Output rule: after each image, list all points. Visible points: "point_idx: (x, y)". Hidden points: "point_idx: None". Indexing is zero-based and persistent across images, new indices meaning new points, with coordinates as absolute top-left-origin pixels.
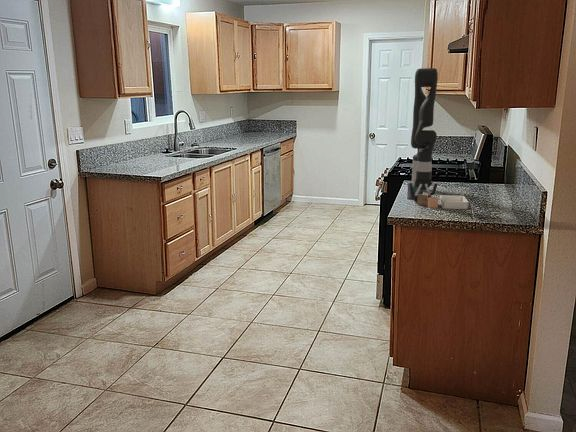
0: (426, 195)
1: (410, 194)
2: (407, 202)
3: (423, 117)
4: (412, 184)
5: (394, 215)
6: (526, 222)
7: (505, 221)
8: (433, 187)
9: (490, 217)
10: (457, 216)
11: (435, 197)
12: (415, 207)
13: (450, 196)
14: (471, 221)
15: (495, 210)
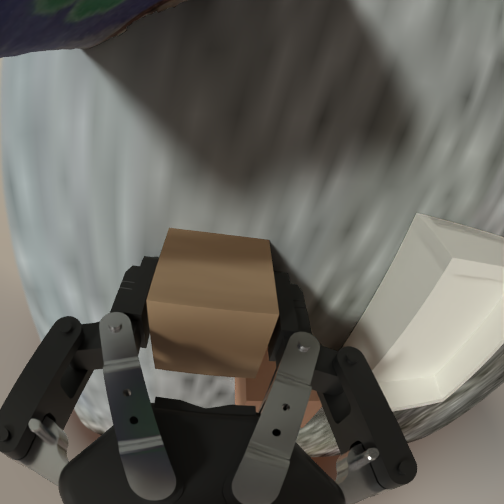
0: (253, 357)
1: (67, 45)
2: (71, 224)
3: None
4: (46, 455)
5: (85, 419)
6: (437, 427)
7: (405, 435)
8: (361, 435)
9: (403, 424)
10: (312, 437)
11: (311, 402)
12: (149, 363)
13: (502, 276)
14: (322, 451)
15: (491, 364)
